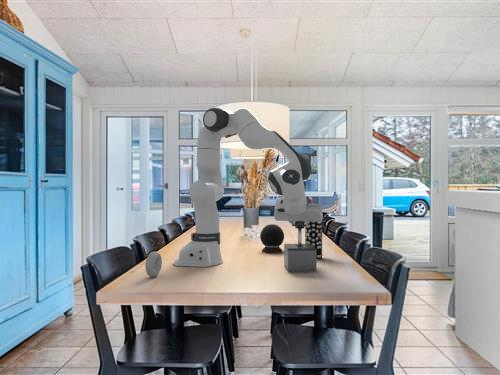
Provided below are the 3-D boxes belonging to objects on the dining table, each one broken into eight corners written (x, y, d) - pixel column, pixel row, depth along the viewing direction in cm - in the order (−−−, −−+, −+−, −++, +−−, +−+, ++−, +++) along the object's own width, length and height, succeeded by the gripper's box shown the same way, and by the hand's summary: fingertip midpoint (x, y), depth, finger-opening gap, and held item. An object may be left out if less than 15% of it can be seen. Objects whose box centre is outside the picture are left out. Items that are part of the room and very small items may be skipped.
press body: (287, 272, 154) (287, 248, 154) (284, 266, 166) (284, 243, 166) (316, 272, 154) (316, 248, 154) (310, 265, 166) (310, 243, 166)
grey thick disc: (151, 280, 141) (151, 254, 141) (143, 279, 141) (143, 253, 141) (163, 274, 150) (163, 249, 150) (155, 273, 151) (155, 249, 151)
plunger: (292, 260, 156) (292, 220, 156) (289, 257, 164) (289, 219, 164) (310, 260, 156) (310, 220, 156) (306, 257, 164) (306, 219, 164)
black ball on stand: (268, 248, 212) (268, 222, 212) (288, 251, 204) (288, 224, 204) (255, 252, 201) (255, 224, 201) (276, 254, 193) (276, 226, 193)
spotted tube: (322, 260, 179) (322, 218, 179) (304, 259, 181) (304, 218, 181) (322, 256, 187) (322, 217, 187) (305, 256, 189) (305, 217, 189)
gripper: (322, 198, 150) (324, 220, 160) (273, 198, 156) (278, 219, 165) (321, 210, 146) (323, 231, 155) (270, 209, 152) (276, 230, 161)
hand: (300, 225), depth 160 cm, fingers closed on plunger, 4 cm apart
